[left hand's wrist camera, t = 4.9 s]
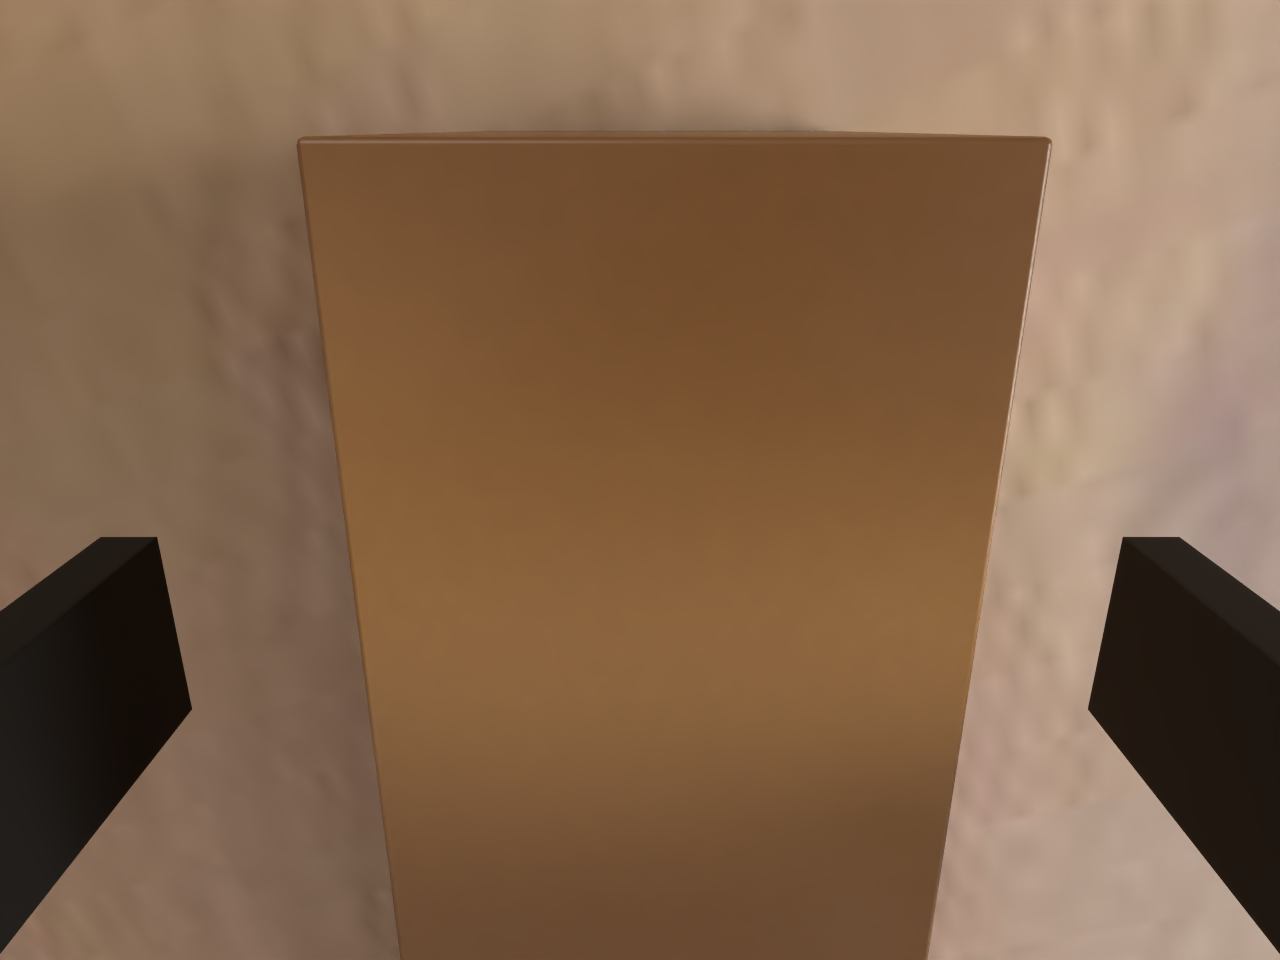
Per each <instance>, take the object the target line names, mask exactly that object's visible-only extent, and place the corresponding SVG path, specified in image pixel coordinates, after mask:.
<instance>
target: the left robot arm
mask: <svg viewBox="0 0 1280 960" xmlns="http://www.w3.org/2000/svg"><path fill="white" fill-rule="evenodd" d="M191 710H192V706H191V702H190V697H189V692H188V687H187V682H186V677H185V672H184V667H183V662H182V657H181V652H180V647H179V643H178V638H177V633H176V628H175V623H174V618H173V613H172V608H171V603H170V598H169V593H168V589H167V584H166V579H165V574H164V569H163V564H162V559H161V554H160V549H159V544H158V539H157V537H100V538H99V539H97V540H96V541H95V542H93V543H92V544H91V545H89V546H88V547H87V548H85V549H84V550H83V551H81V552H80V553H79V554H77V555H76V556H74V557H73V558H72V559H70V560H69V561H68V562H66V563H65V564H64V565H62V566H61V567H60V568H58V569H57V570H56V571H54V572H53V573H51V574H50V575H49V576H47V577H46V578H45V579H43V580H42V581H41V582H39V583H38V584H37V585H35V586H34V587H33V588H31V589H30V590H28V591H27V592H26V593H24V594H23V595H22V596H20V597H19V598H18V599H16V600H15V601H14V602H12V603H11V604H10V605H8V606H7V607H6V608H4V609H3V610H1V611H0V953H1V952H2V951H3V950H4V948H5V947H6V946H7V944H8V943H9V942H10V941H11V939H12V938H13V937H14V936H15V934H16V933H17V932H18V930H19V929H20V928H21V927H22V925H23V924H24V923H25V922H26V920H27V919H28V918H29V916H30V915H31V914H32V913H33V911H34V910H35V909H36V907H37V906H38V905H39V904H40V902H41V901H42V900H43V899H44V897H45V896H46V895H47V893H48V892H49V891H50V890H51V888H52V887H53V886H54V885H55V883H56V882H57V881H58V879H59V878H60V877H61V876H62V874H63V873H64V872H65V871H66V869H67V868H68V867H69V865H70V864H71V863H72V862H73V860H74V859H75V858H76V856H77V855H78V854H79V853H80V851H81V850H82V849H83V848H84V846H85V845H86V844H87V842H88V841H89V840H90V839H91V837H92V836H93V835H94V834H95V832H96V831H97V830H98V828H99V827H100V826H101V825H102V823H103V822H104V821H105V820H106V818H107V817H108V816H109V814H110V813H111V812H112V811H113V809H114V808H115V807H116V806H117V804H118V803H119V802H120V800H121V799H122V798H123V797H124V795H125V794H126V793H127V791H128V790H129V789H130V788H131V786H132V785H133V784H134V783H135V781H136V780H137V779H138V777H139V776H140V775H141V774H142V772H143V771H144V770H145V769H146V767H147V766H148V765H149V763H150V762H151V761H152V760H153V758H154V757H155V756H156V755H157V753H158V752H159V751H160V749H161V748H162V747H163V746H164V744H165V743H166V742H167V740H168V739H169V738H170V737H171V735H172V734H173V733H174V732H175V730H176V729H177V728H178V726H179V725H180V724H181V723H182V721H183V720H184V719H185V718H186V716H187V715H188V714H189V712H190V711H191ZM1088 710H1089V711H1090V712H1091V714H1092V715H1093V716H1094V718H1095V719H1096V720H1097V721H1098V723H1099V724H1100V725H1101V726H1102V728H1103V729H1104V730H1105V732H1106V733H1107V734H1108V735H1109V737H1110V738H1111V739H1112V740H1113V742H1114V743H1115V744H1116V746H1117V747H1118V748H1119V749H1120V751H1121V752H1122V753H1123V755H1124V756H1125V757H1126V758H1127V760H1128V761H1129V762H1130V763H1131V765H1132V766H1133V767H1134V769H1135V770H1136V771H1137V772H1138V774H1139V775H1140V776H1141V777H1142V779H1143V780H1144V781H1145V783H1146V784H1147V785H1148V786H1149V788H1150V789H1151V790H1152V791H1153V793H1154V794H1155V795H1156V797H1157V798H1158V799H1159V800H1160V802H1161V803H1162V804H1163V806H1164V807H1165V808H1166V809H1167V811H1168V812H1169V813H1170V814H1171V816H1172V817H1173V818H1174V820H1175V821H1176V822H1177V823H1178V825H1179V826H1180V827H1181V828H1182V830H1183V831H1184V832H1185V834H1186V835H1187V836H1188V837H1189V839H1190V840H1191V841H1192V842H1193V844H1194V845H1195V846H1196V848H1197V849H1198V850H1199V851H1200V853H1201V854H1202V855H1203V856H1204V858H1205V859H1206V860H1207V862H1208V863H1209V864H1210V865H1211V867H1212V868H1213V869H1214V871H1215V872H1216V873H1217V874H1218V876H1219V877H1220V878H1221V879H1222V881H1223V882H1224V883H1225V885H1226V886H1227V887H1228V888H1229V890H1230V891H1231V892H1232V893H1233V895H1234V896H1235V897H1236V899H1237V900H1238V901H1239V902H1240V904H1241V905H1242V906H1243V907H1244V909H1245V910H1246V911H1247V913H1248V914H1249V915H1250V916H1251V918H1252V919H1253V920H1254V922H1255V923H1256V924H1257V925H1258V927H1259V928H1260V929H1261V930H1262V932H1263V933H1264V934H1265V936H1266V937H1267V938H1268V939H1269V941H1270V942H1271V943H1272V944H1273V946H1274V947H1275V948H1276V950H1277V951H1278V952H1279V953H1280V611H1279V610H1277V609H1276V608H1274V607H1273V606H1272V605H1270V604H1269V603H1268V602H1266V601H1265V600H1264V599H1262V598H1261V597H1260V596H1258V595H1257V594H1256V593H1254V592H1253V591H1252V590H1250V589H1249V588H1247V587H1246V586H1245V585H1243V584H1242V583H1241V582H1239V581H1238V580H1237V579H1235V578H1234V577H1233V576H1231V575H1230V574H1229V573H1227V572H1226V571H1224V570H1223V569H1222V568H1220V567H1219V566H1218V565H1216V564H1215V563H1214V562H1212V561H1211V560H1210V559H1208V558H1207V557H1206V556H1204V555H1203V554H1201V553H1200V552H1199V551H1197V550H1196V549H1195V548H1193V547H1192V546H1191V545H1189V544H1188V543H1187V542H1185V541H1184V540H1183V539H1181V538H1180V537H1123V539H1122V544H1121V549H1120V554H1119V559H1118V564H1117V569H1116V574H1115V579H1114V584H1113V589H1112V593H1111V598H1110V603H1109V608H1108V613H1107V618H1106V623H1105V628H1104V633H1103V638H1102V643H1101V647H1100V652H1099V657H1098V662H1097V667H1096V672H1095V677H1094V682H1093V687H1092V692H1091V697H1090V702H1089V706H1088Z"/></svg>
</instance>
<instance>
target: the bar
mask: <svg viewBox="0 0 1280 960" xmlns="http://www.w3.org/2000/svg"><path fill="white" fill-rule="evenodd" d="M1051 149H1052V141H1051V139H1049V138H1047V137H1033V136H994V135H956V134H918V133H880V132H450V133H416V134H382V135H348V136H313V137H302V138H300V139H298V141H297V152H298V160H299V168H300V176H301V183H302V191H303V199H304V207H305V215H306V223H307V230H308V238H309V246H310V254H311V262H312V269H313V277H314V285H315V293H316V301H317V308H318V316H319V324H320V332H321V340H322V348H323V355H324V363H325V371H326V379H327V387H328V394H329V402H330V410H331V418H332V426H333V433H334V441H335V449H336V457H337V465H338V473H339V480H340V488H341V496H342V504H343V512H344V519H345V527H346V535H347V543H348V551H349V559H350V566H351V574H352V582H353V590H354V598H355V605H356V613H357V621H358V629H359V637H360V644H361V652H362V660H363V668H364V676H365V684H366V691H367V699H368V707H369V715H370V723H371V730H372V738H373V746H374V754H375V762H376V769H377V777H378V785H379V793H380V801H381V809H382V816H383V824H384V832H385V840H386V848H387V855H388V863H389V871H390V879H391V887H392V894H393V902H394V910H395V918H396V926H397V934H398V941H399V949H400V957H401V960H927V957H928V951H929V944H930V938H931V931H932V925H933V918H934V912H935V905H936V899H937V892H938V886H939V879H940V873H941V866H942V860H943V853H944V847H945V840H946V834H947V827H948V821H949V814H950V808H951V801H952V794H953V788H954V781H955V775H956V768H957V762H958V755H959V749H960V742H961V736H962V729H963V723H964V716H965V710H966V703H967V697H968V690H969V684H970V677H971V671H972V664H973V658H974V651H975V645H976V638H977V632H978V625H979V619H980V612H981V606H982V599H983V592H984V586H985V579H986V573H987V566H988V560H989V553H990V547H991V540H992V534H993V527H994V521H995V514H996V508H997V501H998V495H999V488H1000V482H1001V475H1002V469H1003V462H1004V456H1005V449H1006V443H1007V436H1008V430H1009V423H1010V417H1011V410H1012V404H1013V397H1014V390H1015V384H1016V377H1017V371H1018V364H1019V358H1020V351H1021V345H1022V338H1023V332H1024V325H1025V319H1026V312H1027V306H1028V299H1029V293H1030V286H1031V280H1032V273H1033V267H1034V260H1035V254H1036V247H1037V241H1038V234H1039V228H1040V221H1041V215H1042V208H1043V202H1044V195H1045V188H1046V182H1047V175H1048V169H1049V162H1050V156H1051Z"/></svg>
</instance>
